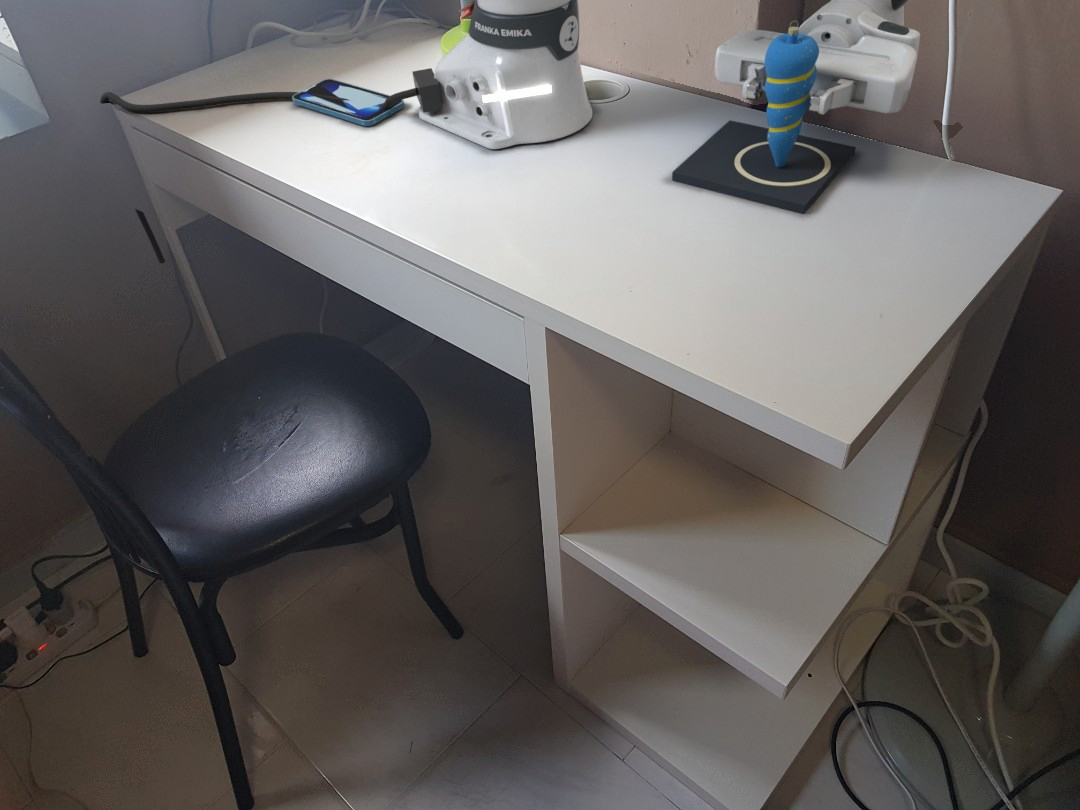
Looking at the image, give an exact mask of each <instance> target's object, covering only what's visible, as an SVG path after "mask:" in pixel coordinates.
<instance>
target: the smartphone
mask: <svg viewBox="0 0 1080 810" xmlns="http://www.w3.org/2000/svg"><path fill="white" fill-rule="evenodd" d="M298 92H299V93H297V94H295V95H293V96H292V99H291V100H292V103H293V104H295V105H297V106H301V107H304V108H307V109H309V110H313V111H316V112H320V113H321V114H322V113H323V114H325V115H329V116H332V117H336V118H339V119H341V120H345V121H348V122H351V123H354V124H358V125H361V126H365V127H371V126H373V125H375V124H377V123H379V122H382V120H384V119H386V118H388V117H389V116H391V115H393V114H395V113H397V112H398V111H400V110H402V109H403V108H404V107H405V101H404V100H405V99H402V100H399V101H397V102H395V103H393V104H392V105H391V107H390V108H389V109H384V108H381V107H379V106H378V105H382V104H384V102H385V100H386V99H387V98H388V97H389V96H391V95H389V94H386V93H384V92H383V93H382V92H379V91H377V90H373V89H368V88H366V87H362V86H359V85H356V84H351V83H348V82H345V81H341V80H337V79H334V78H325V79H323V80H320V81H319V82H316V83H314V84H313V85H310V86H308V87H306V88H304V89H303V90H301V91H298ZM314 94H317V95H314ZM319 95H325V96H332V97H339V98H345V99H348V100H338V99H332V98H328V97H323V96H319ZM349 100H350V101H349Z"/></svg>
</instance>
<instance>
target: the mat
mask: <svg viewBox="0 0 1080 810" xmlns="http://www.w3.org/2000/svg"><path fill="white" fill-rule="evenodd" d="M768 131H769V127H768V128H767V127H763V126H759V125H756V124H755V125H754V124H749V123H744V122H740V121H737V120H731V119H729V120H728V121H727V122H726V123H725V124H724V125H723V126H722V127H720V128H719V130H717V131H716V132H715V133H714V134H712V136H710V137H709V138H708V139H707V140H706V141H705V142H704V143H703V144H701V145H700V146H699V148H697V149H696V150H695V151H694V152H693V153H692V154H691V155H689V156H688V157H687V158H686V159H685V160H684V161H683V162H682V163H681V164H679V165H678V166H677V167H676V168H675V169H674V170H673V171H672V175H671V180H672V181H674V182H678V183H681V184H687V185H690V186H694V187H696V188H701V189H706V190H709V191H713V192H718V193H721V194H724V195H729V196H732V197H737V198H741V199H745V200H749V201H753V202H757V203H761V204H765V205H769V206H772V207H777V208H780V209H784V210H788V211H792V212H796V213H800V214H806V213H807V211H808V210H809V208H810V207H811V206H812V205H813V204H814V203H815V202H816V201H817V199H818V198H819V197H820V195H822V193H823V192H824V191H825V190H826V189H827V188H828V186H829V185H830V184H831V183H832V181H833V180H834V179H835V178H836V177H837V176H838V174H840V172H841V171H842V170H843V169H844V168H845V166H846V165H847V164H848V162H850V160H851V159H852V158H853V157H854V156H855V153H856V146H854V145H849V144H846V143H840V142H834V141H830V140H825V139H821V138H815V137H812V136H807V135H801V134H799V135H798V137H797V140H796V142H795V144H794V146H793V148H792V150H791V152H790V154H789V156H788V158H787V160H786V162H785V164H784V166H783V167H782V168H778V167H776V165H775V161H774V158H773V155H772V152H771V149H770V146H769V143H768V139H767V135H768Z"/></svg>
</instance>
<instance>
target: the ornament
mask: <svg viewBox="0 0 1080 810" xmlns="http://www.w3.org/2000/svg"><path fill="white" fill-rule="evenodd" d="M794 22H796V23H797V25H796V26H792V23H794ZM798 30H799V21H798V20H793V21H791V22H790V24H789V27H788V30H787V31H788V32H787V33H783V35H780V36H777V37H776V38H774V39H773V40H772V42H771V43H770V45H769V47H768V49H767V52H766V55H765V70H766V73H767V77H768V78H767V80H766V82H765V91H764V92H765V96H766V99H767V102H768V104H767V107H766V114H765V115H766V120H767V125H768V128H769V131H768V135H767V139H768V143H769V146H770V149H771V152H772V155H773V158H774V161H775V165H776V167H778V168H782V167H783V166H784V164H785V162H786V160H787V158H788V156H789V154H790V152H791V150H792V148H793V146H794V144H795V142H796V140H797V137H798V135H800V133H801V130H802V127H803V116H804V115H805V113H806V111H807V108H808V107H809V104H810V100H811V99H810V90H811V88H812V86H813V84H814V82H815V80H816V76H817V69H816V66H815V63H816V61H817V58H818V55H819V47H818V44H817V43H816V41H815V40H814V39H813V38H812V37H810V36H807V35H803V34H798Z"/></svg>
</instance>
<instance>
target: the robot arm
mask: <svg viewBox="0 0 1080 810" xmlns="http://www.w3.org/2000/svg"><path fill="white" fill-rule="evenodd" d="M907 1H908V0H830V1H828V2H827V3H826V4H824V5H823V6H822V7H820V8H819V9H818V10H816V12H814V13H812V15H811V16H809V17H808V18H807V19H806V20H805V21H804V22H803V23H802V24H801V25H800V26H798V28H799V30H798V34H803V35H807V36H810V37H812V38H813V39H814V40H815V41H816V43H817V44H818V47H819V55H818V58H817V61H816V63H815V66H816V69H817V76H816V80H815V82H814V84H813V86H812V88H811V90H810V101H809V104H810V105H809V106H808V107H809V108H808V112H809V113H813V114H818V115H825V114H826V113H827V112H828V111H829V110H834V109H838V108H843V107H849V108H854V109H859V110H864V111H870V112H875V113H879V114H880V113H881V114H885V115H888V114H889V115H890V114H896V113H899V112H901V110H902V109H903V108H904V107H905V106H906V103H907V101H908V100H909V99H908V98H909V95H910V90H911V87H912V83H913V79H914V75H915V70H916V66H917V61H918V56H919V51H920V41H921V33H920V32H919V31H918V30H916V29H913V28H909V27H908V26H907V27H903V25H904V6H903V5H904V4H905V3H906V2H907ZM579 11H580V10H579V1H578V0H472V1H471V2H470V4H468V5H466V6H464V7H462V8H461V9H459V13H463V12H464V13H463V14H462V15H461V16H460V17H459V18H460V20H462V21H463V20H465V19H467V18H469V17H470V16H471V17H470V22H469V26H468V33H466V34H465V35H464V36H463V37H462V38H461V39H459V41H458V42H457V43H456V44H455V45H454V46H453V47H452V48H451V49H449V51H447V52H446V54H444V55H443V56H442V58H440V60H439V61H438V62H437V64H436V66H435V68H434V71H433V68H431V67H430V68H424V69H419V70H413V71H411V72H412V77H413V83H414V88H410V89H406V90H403V91H399V92H396V93H393V94H391V95H390V96H389V97H388V98H387V99H386V100H385V102H384V104H382V105H378V106H379V107H381V108H384V109H389V108H390V107H391V105H392V104H393V103H395V102H397V101H399V100H402V99H403V100H405V99H410V98H414V97H416V98H417V100H418V102H419V109H418V118H419V119H421V120H422V121H425V122H427V123H428V124H431V125H434V126H436V127H438V128H440V129H443V130H445V131H447V132H450V133H452V134H455V136H459V137H461V138H463V139H466V140H468V141H470V142H473V143H475V144H477V145H480V146H482V147H484V148H486V149H490V150H499V149H500V150H501V149H504V148H508V147H512V146H516V145H522V144H536V143H543V142H550V141H555V140H558V139H561V138H564V137H567V136H570V135H572V134H574V133H576V132H579V131H580V130H582V129H584V128H585V126H587V125H588V124H589V123H590V121H591V120H592V118H593V114H594V113H593V109H592V105H591V102H590V100H589V97H588V93H587V90H586V86H585V85H586V84H585V81H584V77H583V71H582V66H581V58H580V52H579V44H580V43H579V42H580V12H579ZM783 34H784V33H782V32H776V31H770V30H764V29H762V30H761V29H752V30H747V31H744V32H742V33H739V34H737V35H735V36H733V37H732V38H730V39H728V40H726V41H725V42H723V43H721V44H720V45H719V46H718V47H717V49H716V50H715V51H716V52H715V57H714V77H715V78H716V80H717V81H718V82H719V83H721V84H727V85H732V86H739V87H742V91H741V98H742V99H743V100H749V101H753V102H757V101H758V99H760V98H761V97H763V92H765V82H766V80H767V78H768V77H767V73H766V70H765V55H766V52H767V49H768V47H769V45H770V43H771V42H772V40H773V39H774V38H776V37H777V36H780V35H783ZM299 92H300V91H271V92H270V91H269V92H256V93H255V92H254V93H244V94H234V95H225V96H216V97H210V98H202V99H194V100H193V99H192V100H185V101H173V102H166V103H165V102H164V103H155V104H137V103H136V104H135V103H131V102H127V101H126V100H124V99H122V98H121V97H120V96H119V95H117V94H115V93H114V92H112V91H106V92H104V93H103V94H102V95H101V96H100V99H99V103H100V104H102V105H103V104H104V105H105V104H107V103H108V102H109V100H111V101H113V102H114V103H115V104H117V105H118V106H119V107H122V108H123V109H125V110H127V111H130V112H136V113H157V112H167V111H175V110H177V111H178V110H186V109H194V108H195V109H196V108H204V107H211V106H218V105H226V104H233V103H235V104H236V103H244V102H255V101H270V100H292V96H293V95H295V94H297V93H299ZM314 95H317V94H314ZM319 96H323V97H328V98H332V99H338V100H348V99H345V98H339V97H332V96H325V95H319ZM349 101H350V100H349ZM134 210H135V212H136V215H137V216H138V219H139V221H140V223H141V225H142V228H143V229H144V231H145V234H146V235H147V238H148V240H149V242H150V245H151V246H152V249H153V251H154V254H155V256H156V258H157V260H158V263H159V264H165V262H166V259H165V258H164V256H163V253H162V250H161V248H160V246H159V244H158V241H157V239H156V237H155V234H154V233H153V230H152V228H151V226H150V224H149V222H148V219H147V218H146V214H145V213H144V212H143V211H142V210H139V209H137V208H134Z"/></svg>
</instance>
